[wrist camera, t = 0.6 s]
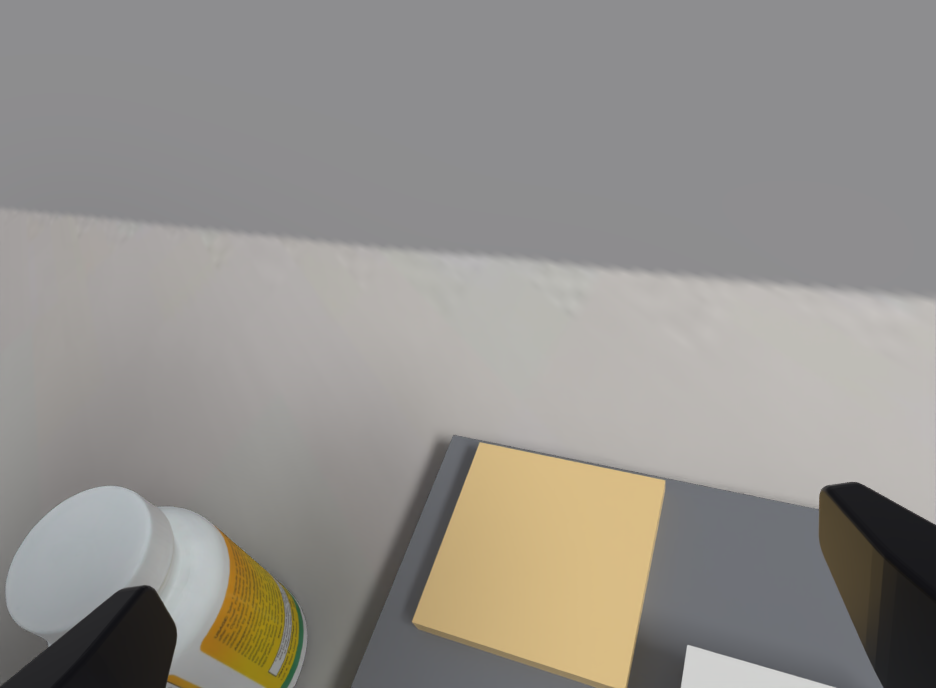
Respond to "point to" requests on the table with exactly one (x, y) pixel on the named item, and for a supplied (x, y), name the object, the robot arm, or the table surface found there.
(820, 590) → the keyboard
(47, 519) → the supplement bottle
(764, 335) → the table surface
